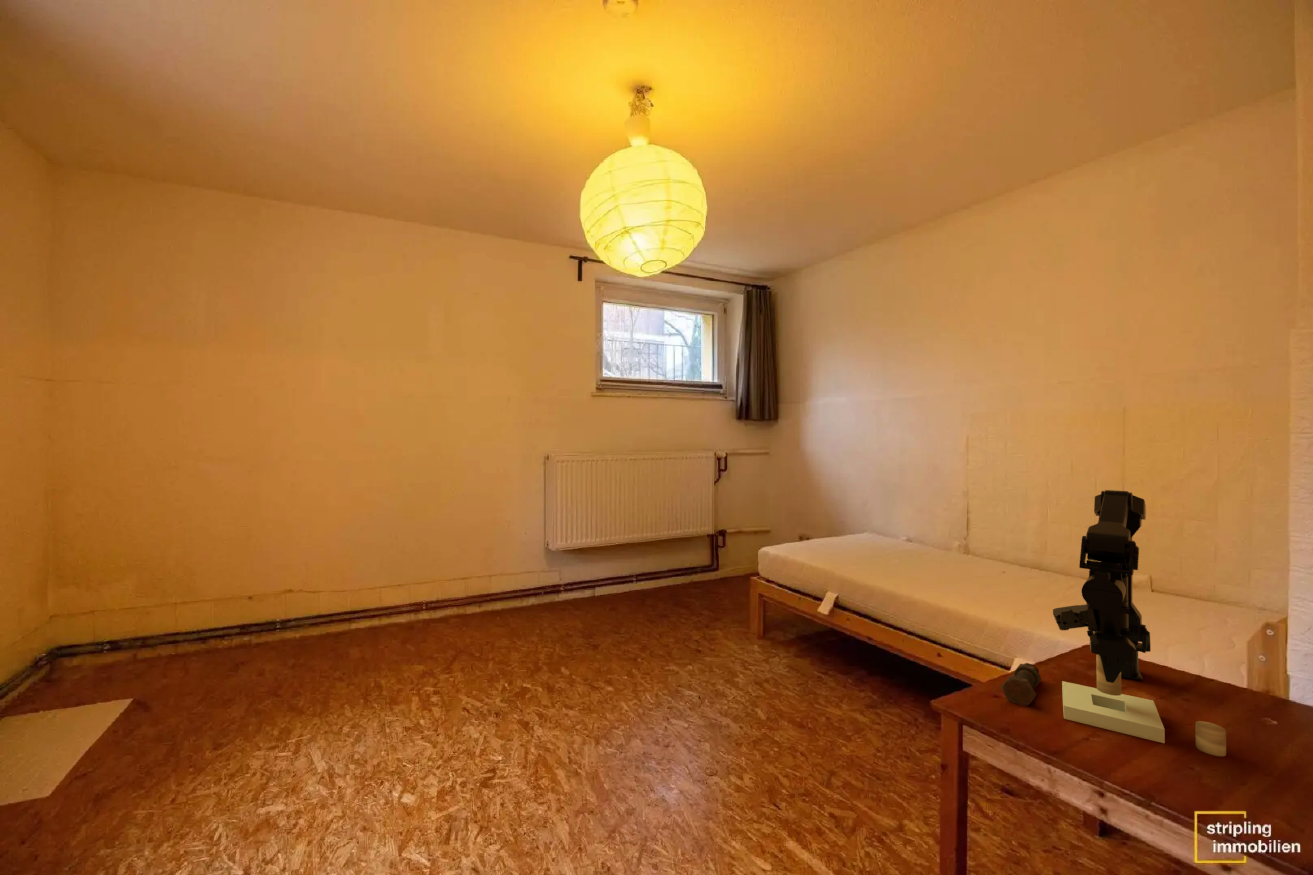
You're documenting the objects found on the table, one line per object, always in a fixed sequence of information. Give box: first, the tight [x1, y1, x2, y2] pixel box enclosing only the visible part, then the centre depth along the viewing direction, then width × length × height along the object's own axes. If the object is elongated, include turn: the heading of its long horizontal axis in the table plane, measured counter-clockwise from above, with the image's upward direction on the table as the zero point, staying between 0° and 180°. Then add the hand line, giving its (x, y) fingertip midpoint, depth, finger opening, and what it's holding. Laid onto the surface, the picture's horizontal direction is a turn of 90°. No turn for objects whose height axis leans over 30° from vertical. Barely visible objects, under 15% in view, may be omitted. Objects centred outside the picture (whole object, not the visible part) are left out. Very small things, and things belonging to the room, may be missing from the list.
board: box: [1061, 680, 1166, 744], centre depth 101 cm, size 12×14×2 cm
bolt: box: [1000, 662, 1042, 707], centre depth 112 cm, size 6×5×15 cm
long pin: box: [1095, 654, 1122, 696], centre depth 101 cm, size 4×4×8 cm
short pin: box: [1195, 720, 1227, 757], centre depth 90 cm, size 4×4×4 cm
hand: (1108, 677), depth 101 cm, fingers closed on long pin, 4 cm apart
